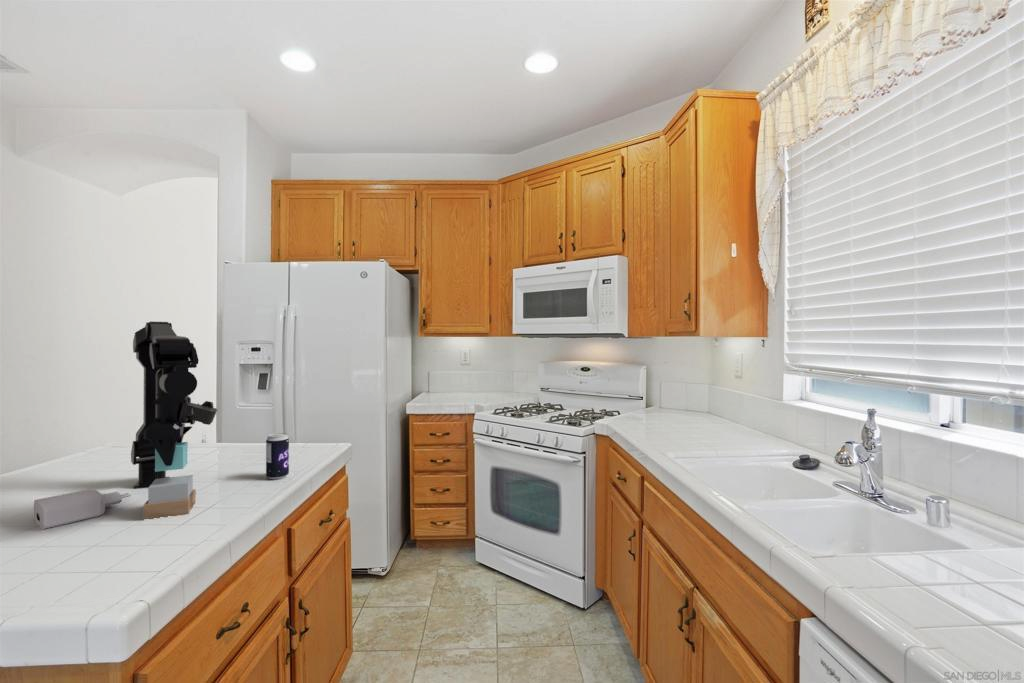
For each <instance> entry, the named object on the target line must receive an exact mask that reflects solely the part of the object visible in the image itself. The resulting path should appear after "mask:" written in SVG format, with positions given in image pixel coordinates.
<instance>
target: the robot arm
mask: <svg viewBox="0 0 1024 683" xmlns="http://www.w3.org/2000/svg"><path fill="white" fill-rule="evenodd" d="M133 336H134V337H133V341H132V351H133V353H134V354H135V358H136V360H137V361H138V363H139V364H140V365H141V367H142V368H143V422H142V423H143V424H142V423H141V426H140V427H139V429H138V430H137V431H136V432H135V440H133V441H132V444H131V445H132V446H131V450H130V461H131V462H130V463H131V464H132V465H133V466H134V465H135V466H136V465H138V481H137V482H136V483H135V484H134V485H133V488H134V489H136V488H146V487H148V488H149V486H150V485H151V484H152V483H153V482H154V480H155V479H161V478H169V477H170V476H166V475H167V473H166V471H157V472H155V449H156V450H157V452H158V454H159V455H160V457H161V459H162V460H163V462H164V464H165V466H171V465H172V463H173V458H174V453H175V448H176V444H177V443H180V442H183V440H184V436H185V435H186V434H187V432H189V431H190V430H191V429H192V428H193V426H192V425H194V424H196V422H199V423H202V424H203V425H208V426H209V425H211V424H212V423H213V421H214V419H215V417H216V414H217V412H218V409H217V408H216V407H214V402H211V401H208V400H206V401H204V402H203V403H202V404H200V403H193V402H192V398H191V397H190V395H192V394H193V393H194V392H195V391H196V389H197V386H198V380H197V378H196V376H195V375H194V373H192V372H190V371H189V369H195V368H197V366H198V365H199V357H198V356H199V355H198V352H197V348H196V347H195V346H194V343H193V342H191V341H190V340H191V339H190V338H188V337H187V336H181V335H177V334H176V332H175V330H174V329H173V325H172V323H171V322H168V321H152V320H151V321H149V322H148V321H147V322H146V323H145V326H144V327H143V328H140V329H139V330H137V331H135V332H134V335H133ZM186 424H190V426H186Z"/></svg>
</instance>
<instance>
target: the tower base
mask: <svg viewBox="0 0 1024 683" xmlns="http://www.w3.org/2000/svg"><path fill="white" fill-rule="evenodd" d="M196 490H197V489H195V488H194V489H193V490H192V492H191V494H190V496H189V498H188V499H183V500H176V501H168V502H161V503H153V504H148V500H146V502H145V503H144V504H143V505H142V521H145V520H144V519H149V520H155V519H154V518H157V519H161V518H160V517H164V518H169V517H168V516H172V517H178V515H179V516H186V514H187V515H189V514H190V512H191V511H192V509H193V508H194V506H195V504H196ZM193 505H194V506H193ZM190 510H191V511H190Z"/></svg>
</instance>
